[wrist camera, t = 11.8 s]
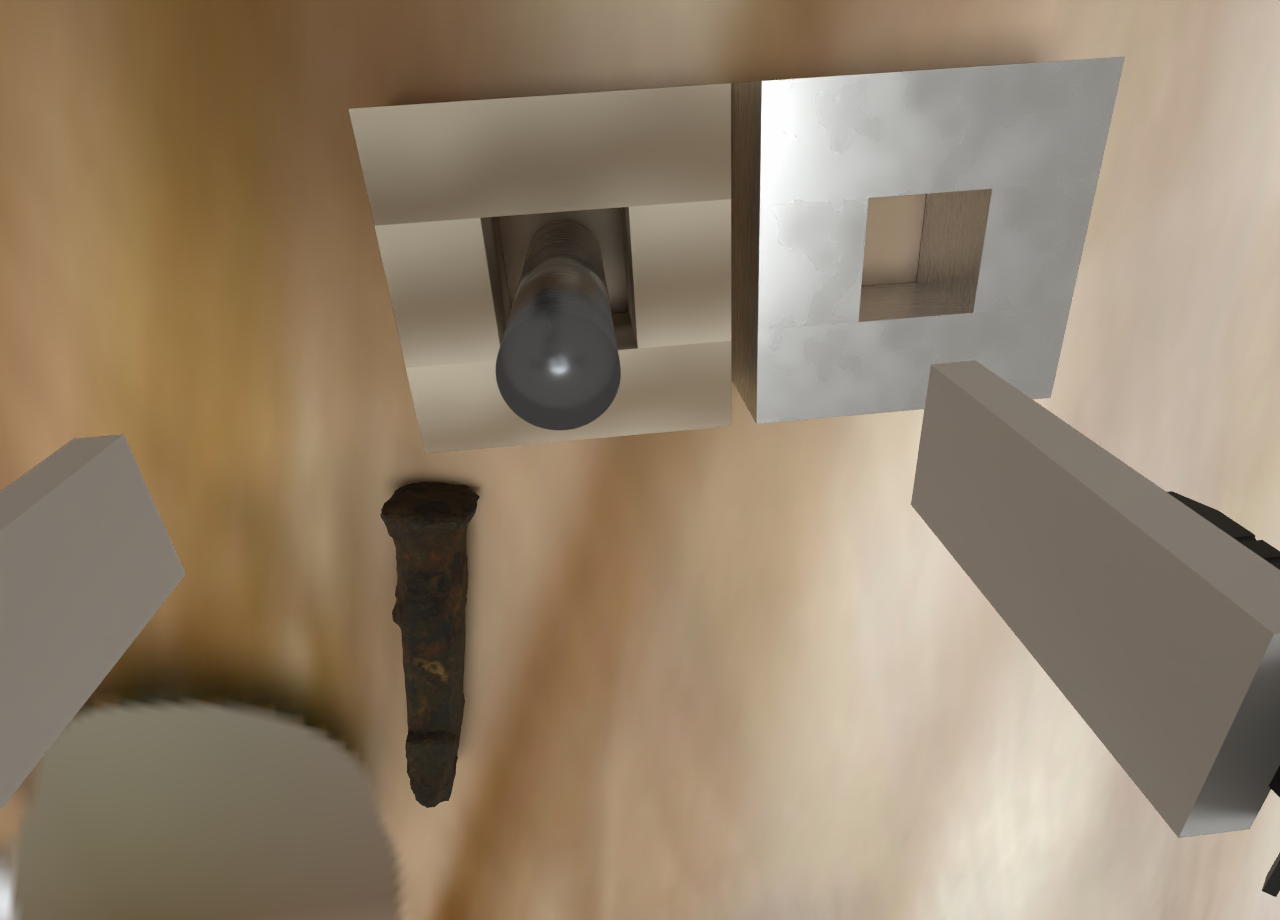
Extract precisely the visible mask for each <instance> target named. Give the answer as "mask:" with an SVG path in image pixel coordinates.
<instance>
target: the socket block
mask: <svg viewBox="0 0 1280 920" xmlns="http://www.w3.org/2000/svg"><path fill="white" fill-rule="evenodd" d="M1124 58H1125V57H1112V58H1097V59H1082V60H1067V61H1053V62H1038V63H1023V64H1008V65H993V66H978V67H963V68H948V69H933V70H919V71H904V72H889V73H874V74H859V75H844V76H829V77H814V78H799V79H785V80H770V81H756V82H744V83H732V84H731V233H732V381H733V383H734V384H735V386H736V388H737V390H738V392H739V393H740V395H741V397H742V399H743V401H744V402H745V404H746V406H747V408H748V410H749V411H750V413H751V415H752V417H753V419H754V420H755V422H756V424H761V423H772V422H783V421H795V420H806V419H817V418H828V417H839V416H851V415H862V414H873V413H884V412H895V411H906V410H918V409H925V403H926V395H927V388H928V381H929V374H930V367H931V364H939V363H951V362H962V361H974V360H976V361H977V362H979V363H980V364H981V365H983V366H984V367H986V368H987V369H989V370H990V371H992V372H993V373H994V374H996V375H997V376H999V377H1000V378H1002V379H1003V380H1005V381H1006V382H1008V383H1009V384H1010V385H1012V386H1013V387H1015V388H1016V389H1018V390H1019V391H1021V392H1022V393H1024V394H1025V395H1026V396H1028V397H1029V398H1031V399H1041V398H1051V393H1052V388H1053V384H1054V379H1055V375H1056V370H1057V366H1058V361H1059V356H1060V352H1061V347H1062V343H1063V338H1064V333H1065V329H1066V324H1067V320H1068V315H1069V310H1070V306H1071V301H1072V297H1073V292H1074V287H1075V283H1076V278H1077V274H1078V269H1079V265H1080V260H1081V255H1082V251H1083V246H1084V242H1085V237H1086V232H1087V228H1088V223H1089V219H1090V214H1091V209H1092V205H1093V200H1094V196H1095V191H1096V187H1097V182H1098V177H1099V173H1100V168H1101V164H1102V159H1103V154H1104V150H1105V145H1106V141H1107V136H1108V131H1109V127H1110V122H1111V118H1112V113H1113V108H1114V104H1115V99H1116V95H1117V90H1118V86H1119V81H1120V76H1121V72H1122V67H1123V63H1124ZM915 194H927V197H926V205H925V214H924V223H923V231H922V240H921V248H920V257H919V266H918V274H917V282H911V283H899V284H887V285H874V286H862V287H861V285H862V272H863V260H864V248H865V235H866V223H867V211H868V199H869V198H875V197H888V196H902V195H915Z"/></svg>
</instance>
